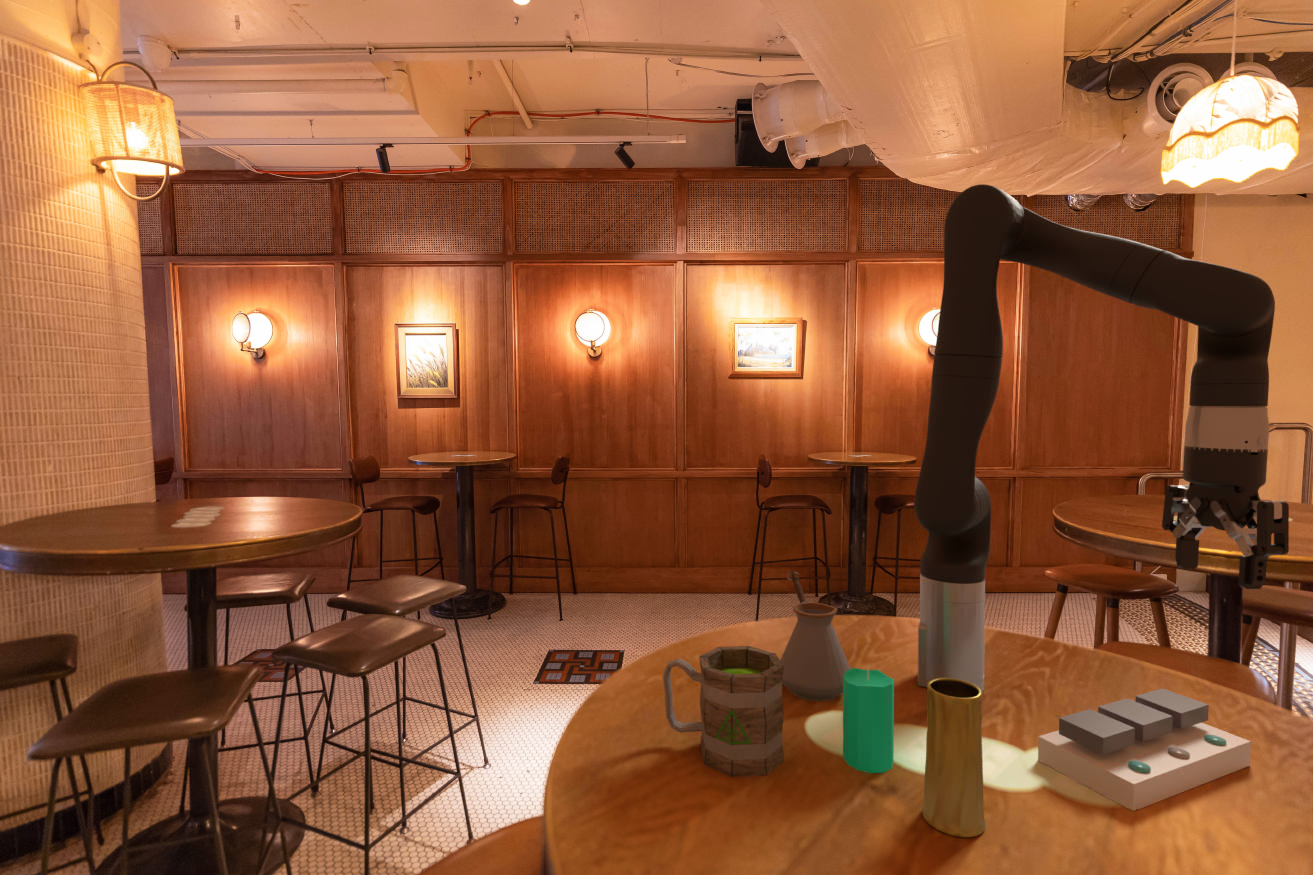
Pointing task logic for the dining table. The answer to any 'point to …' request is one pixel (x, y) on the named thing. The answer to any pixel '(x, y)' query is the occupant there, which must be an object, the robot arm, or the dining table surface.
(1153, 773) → the keypad
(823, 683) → the coffee pot
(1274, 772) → the dining table surface
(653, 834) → the dining table surface
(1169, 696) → the back key
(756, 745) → the mug
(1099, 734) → the front key
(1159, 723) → the middle key
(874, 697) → the candle
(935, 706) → the vase
